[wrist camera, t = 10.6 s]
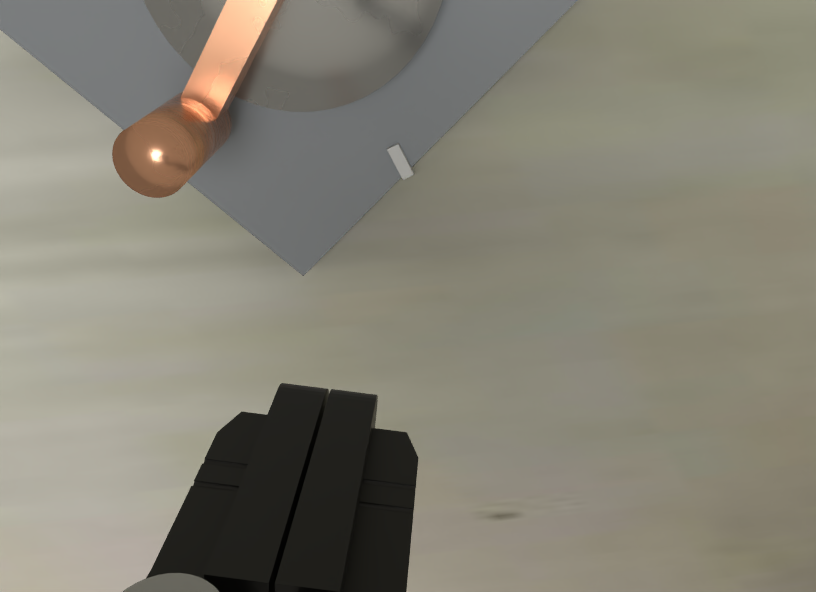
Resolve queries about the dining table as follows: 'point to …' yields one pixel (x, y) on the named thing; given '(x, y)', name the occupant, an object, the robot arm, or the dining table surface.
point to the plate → (283, 130)
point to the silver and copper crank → (262, 71)
